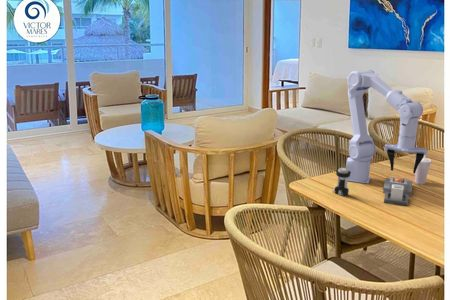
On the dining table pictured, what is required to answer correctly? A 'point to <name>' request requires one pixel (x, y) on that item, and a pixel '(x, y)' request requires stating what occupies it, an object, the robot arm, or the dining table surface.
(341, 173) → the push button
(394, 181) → the button
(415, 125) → the robot arm
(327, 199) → the dining table surface
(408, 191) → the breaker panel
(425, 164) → the smoothie
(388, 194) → the tray
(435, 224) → the dining table surface
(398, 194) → the block
